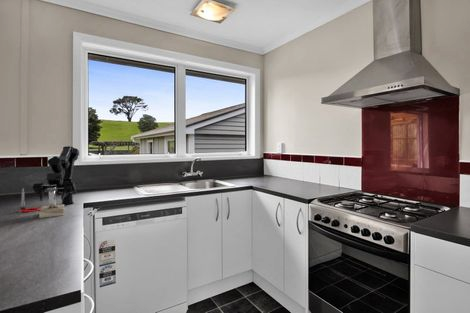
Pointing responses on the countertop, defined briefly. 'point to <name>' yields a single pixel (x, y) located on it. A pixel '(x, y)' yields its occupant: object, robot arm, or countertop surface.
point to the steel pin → (52, 197)
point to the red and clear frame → (22, 208)
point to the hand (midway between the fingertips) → (51, 199)
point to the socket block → (51, 211)
